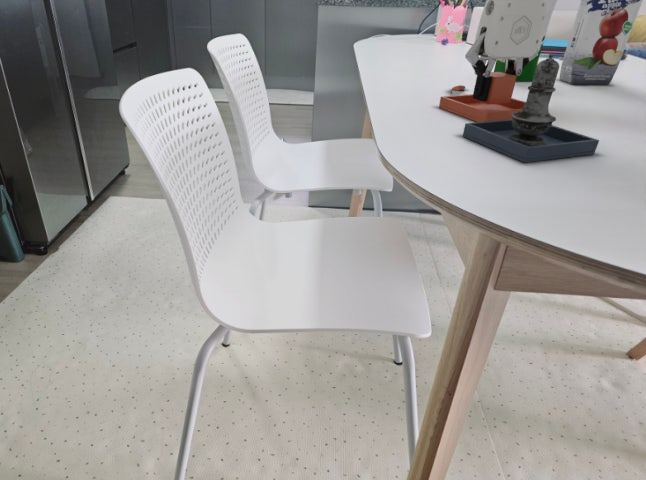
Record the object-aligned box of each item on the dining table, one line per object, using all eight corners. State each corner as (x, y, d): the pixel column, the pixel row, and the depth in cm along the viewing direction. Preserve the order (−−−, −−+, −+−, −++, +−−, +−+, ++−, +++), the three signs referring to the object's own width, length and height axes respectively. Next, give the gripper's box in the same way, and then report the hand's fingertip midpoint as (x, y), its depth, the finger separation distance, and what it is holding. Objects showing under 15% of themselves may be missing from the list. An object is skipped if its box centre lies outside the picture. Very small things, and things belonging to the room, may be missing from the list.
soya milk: (487, 75, 120) (508, -17, 109) (522, 75, 120) (547, -17, 109) (501, 82, 112) (526, -16, 101) (539, 82, 112) (567, -16, 102)
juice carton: (552, 79, 116) (592, -54, 101) (594, 79, 116) (641, -54, 101) (571, 85, 108) (617, -57, 94) (616, 86, 108) (670, -57, 94)
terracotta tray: (491, 103, 93) (493, 92, 92) (542, 119, 82) (545, 107, 81) (438, 107, 89) (440, 96, 88) (484, 124, 79) (487, 112, 78)
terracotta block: (492, 97, 87) (499, 71, 85) (509, 102, 83) (517, 75, 81) (472, 99, 86) (478, 72, 83) (488, 104, 82) (495, 77, 80)
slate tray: (525, 130, 76) (528, 117, 75) (594, 154, 66) (599, 140, 65) (462, 136, 73) (465, 123, 72) (524, 162, 62) (528, 148, 61)
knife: (462, 97, 94) (446, 95, 95) (461, 100, 94) (446, 98, 95) (468, 85, 104) (454, 84, 105) (467, 88, 104) (453, 87, 105)
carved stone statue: (550, 139, 70) (579, 51, 63) (544, 149, 66) (574, 56, 59) (509, 133, 73) (532, 48, 66) (500, 142, 68) (524, 52, 62)
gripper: (492, -21, 69) (465, 106, 79) (581, -21, 74) (544, 100, 84) (461, -21, 75) (439, 97, 85) (544, -21, 80) (514, 92, 90)
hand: (491, 97), depth 84 cm, fingers closed on terracotta block, 4 cm apart
